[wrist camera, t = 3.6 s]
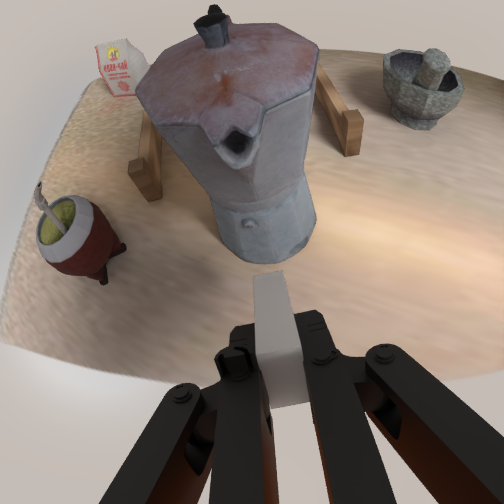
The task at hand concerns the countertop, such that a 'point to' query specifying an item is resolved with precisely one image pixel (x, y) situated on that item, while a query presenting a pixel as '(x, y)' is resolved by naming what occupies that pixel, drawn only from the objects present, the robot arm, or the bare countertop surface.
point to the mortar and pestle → (420, 86)
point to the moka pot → (241, 128)
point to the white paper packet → (121, 66)
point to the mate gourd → (76, 236)
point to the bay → (341, 119)
